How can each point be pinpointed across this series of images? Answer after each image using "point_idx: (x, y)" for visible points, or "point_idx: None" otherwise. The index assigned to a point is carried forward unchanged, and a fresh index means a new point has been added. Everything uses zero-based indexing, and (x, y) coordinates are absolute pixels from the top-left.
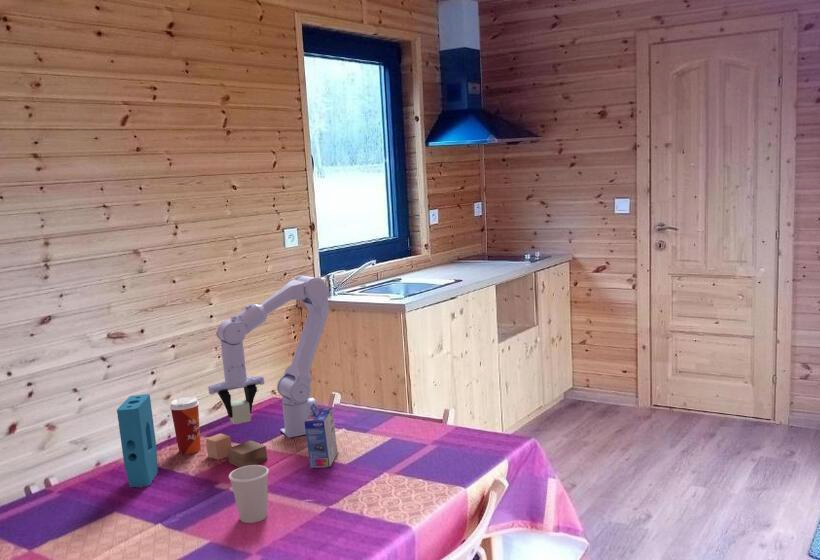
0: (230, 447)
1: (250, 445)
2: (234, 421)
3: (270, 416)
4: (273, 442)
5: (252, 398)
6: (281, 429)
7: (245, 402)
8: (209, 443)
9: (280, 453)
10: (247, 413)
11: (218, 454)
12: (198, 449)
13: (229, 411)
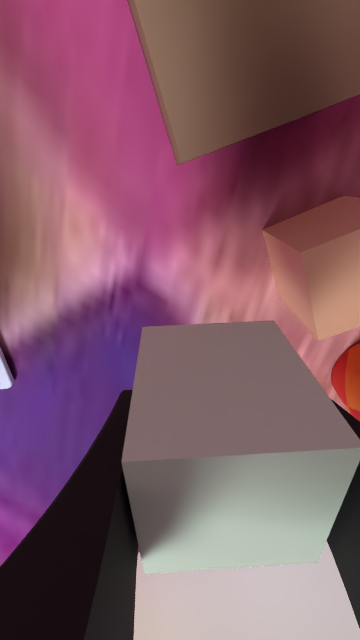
0: (349, 94)
1: (215, 21)
2: (277, 332)
3: (48, 507)
4: (53, 270)
5: (46, 538)
6: (6, 381)
7: (162, 497)
8: None
9: (20, 48)
10: (162, 367)
11: (350, 201)
12: (354, 351)
13: (346, 416)
